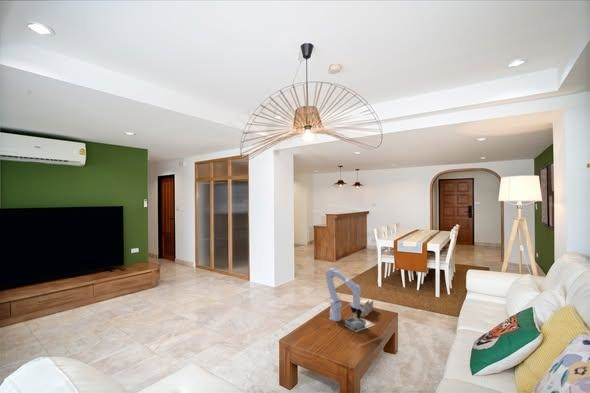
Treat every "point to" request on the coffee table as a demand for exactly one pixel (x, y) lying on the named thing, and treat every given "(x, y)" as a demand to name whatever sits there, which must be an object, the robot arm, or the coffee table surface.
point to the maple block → (355, 316)
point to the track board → (361, 326)
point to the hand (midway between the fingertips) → (356, 317)
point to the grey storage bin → (355, 323)
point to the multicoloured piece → (366, 306)
